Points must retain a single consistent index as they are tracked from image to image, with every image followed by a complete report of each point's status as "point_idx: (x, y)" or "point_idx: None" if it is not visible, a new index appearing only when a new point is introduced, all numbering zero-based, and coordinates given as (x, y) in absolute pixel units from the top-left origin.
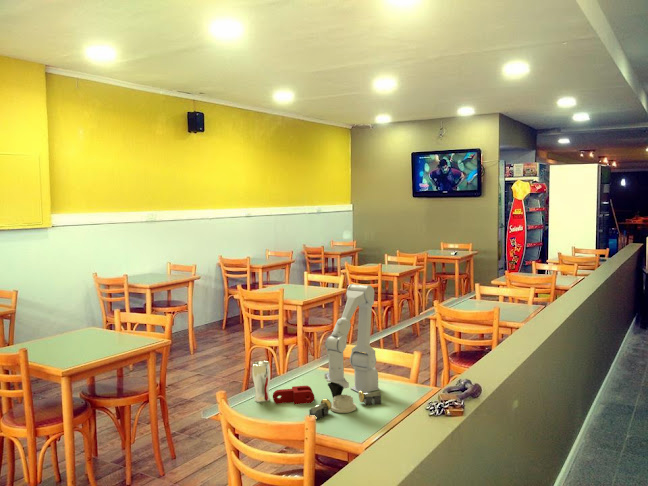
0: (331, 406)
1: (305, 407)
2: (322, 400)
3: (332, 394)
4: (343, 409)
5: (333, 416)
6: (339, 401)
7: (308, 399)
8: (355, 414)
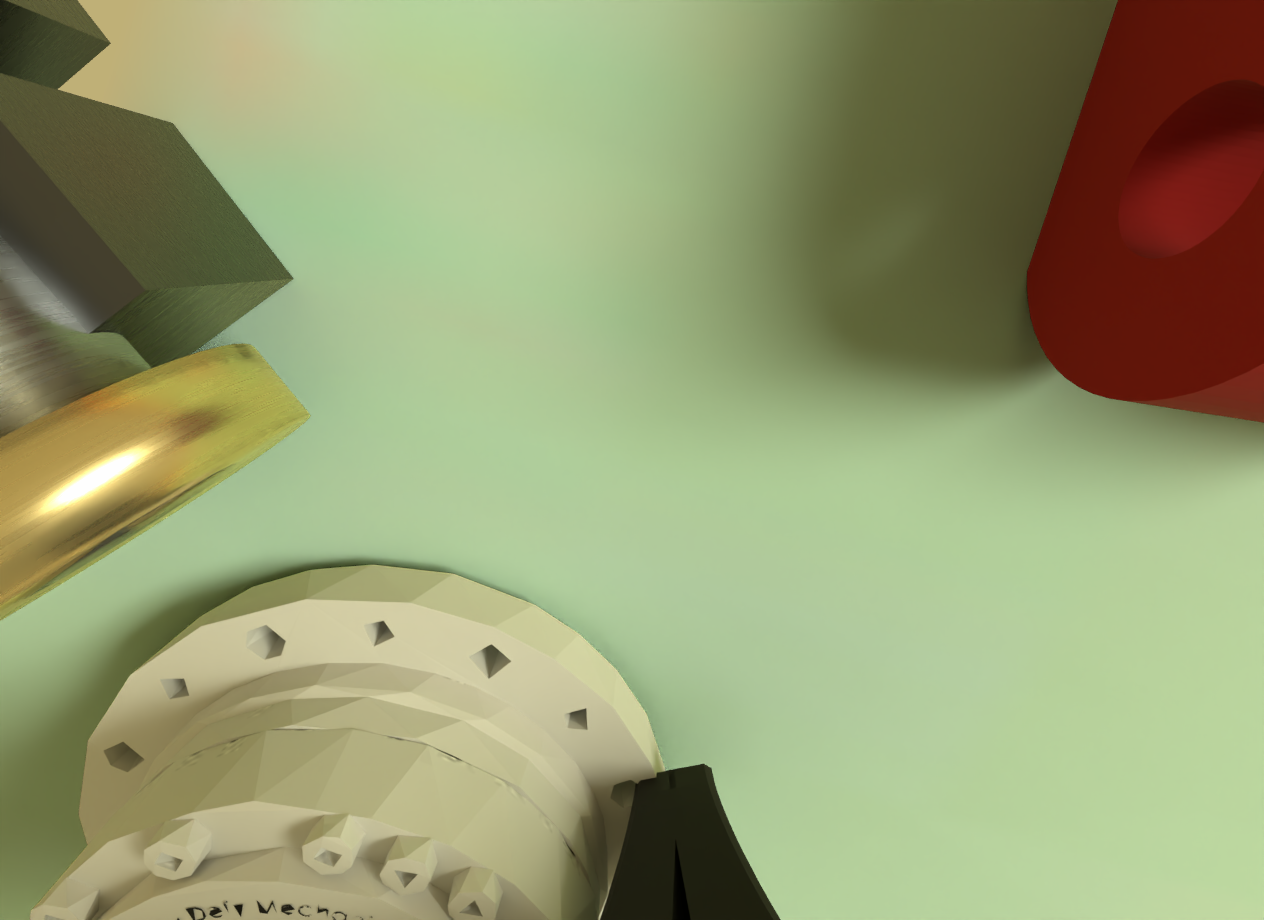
0: (398, 627)
1: (804, 4)
2: (11, 438)
3: (730, 904)
4: (109, 794)
5: None
6: (44, 912)
7: (1160, 205)
8: None
